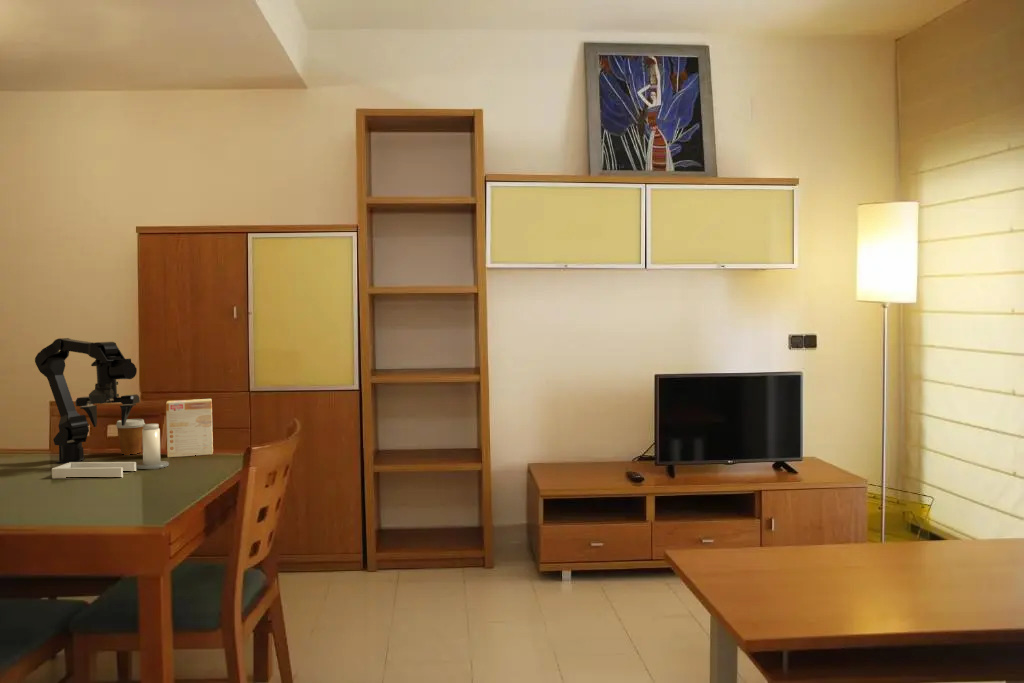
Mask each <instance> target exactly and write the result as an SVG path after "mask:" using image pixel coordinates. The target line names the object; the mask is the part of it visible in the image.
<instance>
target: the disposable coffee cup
mask: <svg viewBox="0 0 1024 683" xmlns="http://www.w3.org/2000/svg"><path fill="white" fill-rule="evenodd" d="M144 424H146V422H145V420H144V419H143V418H130V419H129V418H127V420H126V423H125V425H124V426H122V422H121V420H120V419H119V420H117V421H116V424H115V427H116V428H117V435H118V440H119V447H120V452H121V455H122V454H124V455H123V456H131V455H130V454H137V453H139V452H141V453H142V448H143V434H142V429H143V425H144ZM137 455H138V454H137Z"/></svg>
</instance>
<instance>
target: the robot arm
mask: <svg viewBox="0 0 1024 683" xmlns="http://www.w3.org/2000/svg"><path fill="white" fill-rule="evenodd" d="M70 352H73V353H79V354H84V355H87V356H89V357H90V358H93V359H95V360H94V361H93V362H92V363H91V365H90V366H91V367H95V369H96V370H95V371H96V383H94V384H95V385H94V387H95V388H94V389H93V390H92V391H91V392H89V393H88V396H80V397H77V398H76V399H75V403H74V400H73V398H72V395H71V394H72V393H71V392H70V389H69V386H68V383H67V381H66V378H65V374H64V372H65V368H66V360H67V358H69V355H70ZM34 363H35V365H36V367H37V369H38V371H39V373H40V374H42V375H43V376H44V377H45V378H46V379H47V381H48V384H49V388H50V390H51V393H52V396H53V399H54V402H55V404H56V407H57V410H58V414H59V416H60V419H59V422H58V426H57V427H58V432H57V433H56V435H55V437H54V438H53V444H54V445H55V446H58V459H59V460H57V461H56V463H57V464H66V463H68V462H82V461H84V460H86V458H85V456H84V447H83V443H86V442H87V438H88V434H89V432H90V428H89V426H90V424H89V422H88V420H87V417H86V415H85V414H79V413H78V412H77V410H76V407H79V409H80V410H83V411H84V412H86V414H87V415H88V418H89V419H90V421H91V425H93V428H97V424H98V415H97V414H98V409H97V406H98V405H96V404H100V405H101V404H102V405H103V404H115V403H116V404H117V403H118V404H119V403H120V404H121V405H119V407H120V409H121V412H120V414H121V422H122V426H124V425H125V423H126V420H127V419H129V415H130V413H131V411H132V408H134V406H136V405H137V404H138V403H140V400H141V399H140V395H139V394H135V393H134V394H125V395H121V396H120V395H119V393H118V390H117V389H118V388H117V387H118V385H119V381H117V380H132V379H134V378H136V375H137V373H138V372H137V371H138V370H137V367H136V365H135V364H134V362H132V358H125V356H124V355H123V353H122V351H121V350H120V348H119V346H118V345H117V343H116V342H115V341H100V342H99V341H98V342H97V341H96V342H91V341H85V340H84V341H83V340H78V339H72V338H70V337H65V338H64V337H62V338H61V337H60V338H57V339H54V341H53V342H52V343H50V344H49V345H47V346H46V347H43V348H42V349H41V350H40V351H39V352H37V354H36V356H35V358H34ZM81 460H82V461H81Z"/></svg>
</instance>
